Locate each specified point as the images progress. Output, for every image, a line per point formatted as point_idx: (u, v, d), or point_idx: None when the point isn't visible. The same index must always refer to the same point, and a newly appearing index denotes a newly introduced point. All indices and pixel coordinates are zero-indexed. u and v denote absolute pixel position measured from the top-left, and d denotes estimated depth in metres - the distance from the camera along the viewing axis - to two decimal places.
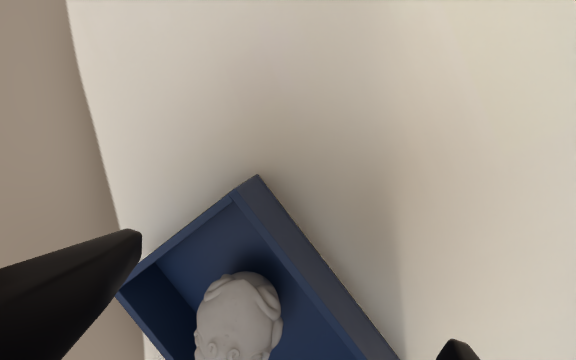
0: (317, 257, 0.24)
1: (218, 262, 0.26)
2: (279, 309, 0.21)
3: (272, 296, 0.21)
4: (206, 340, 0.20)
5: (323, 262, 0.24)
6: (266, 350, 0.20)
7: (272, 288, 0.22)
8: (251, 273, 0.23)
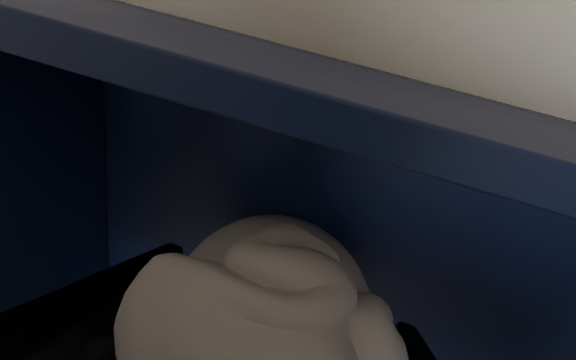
0: (371, 70, 0.07)
1: (189, 246, 0.11)
2: (339, 278, 0.06)
3: (284, 253, 0.06)
4: None
5: (397, 76, 0.08)
6: None
7: (282, 229, 0.06)
8: (226, 226, 0.08)
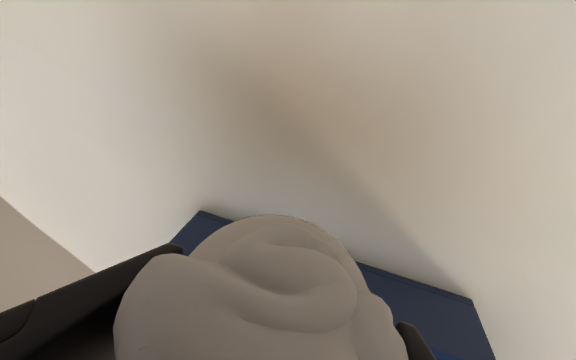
0: None
1: None
2: (339, 279, 0.06)
3: (283, 254, 0.06)
4: None
5: None
6: None
7: (282, 229, 0.06)
8: (226, 226, 0.08)
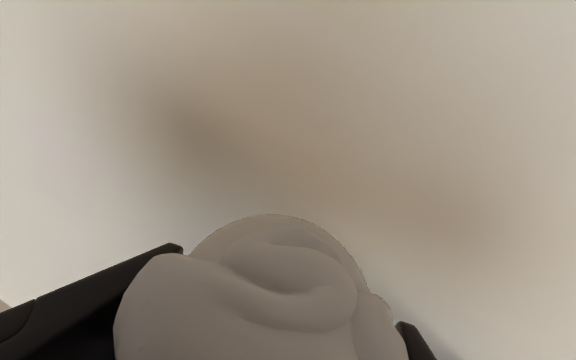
0: None
1: None
2: (339, 278, 0.06)
3: (284, 254, 0.06)
4: None
5: None
6: None
7: (282, 229, 0.06)
8: (226, 226, 0.08)
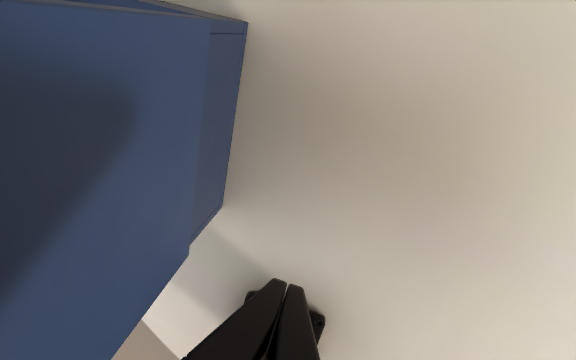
0: None
1: None
2: None
3: None
4: None
5: None
6: None
7: None
8: None
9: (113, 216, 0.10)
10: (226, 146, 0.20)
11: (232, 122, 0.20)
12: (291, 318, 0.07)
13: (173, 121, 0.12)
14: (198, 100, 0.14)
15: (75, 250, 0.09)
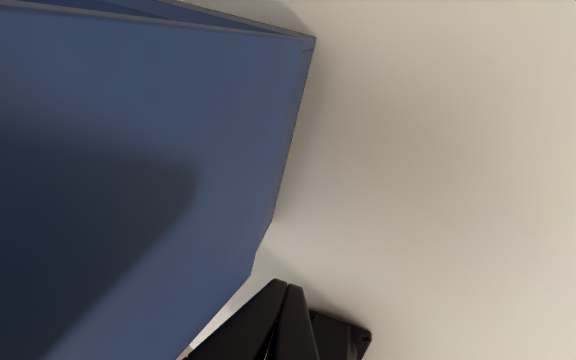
0: None
1: None
2: None
3: None
4: None
5: None
6: None
7: None
8: None
9: (182, 235, 0.10)
10: (284, 161, 0.20)
11: (291, 137, 0.20)
12: (290, 318, 0.07)
13: (253, 142, 0.12)
14: (281, 121, 0.13)
15: (141, 267, 0.08)
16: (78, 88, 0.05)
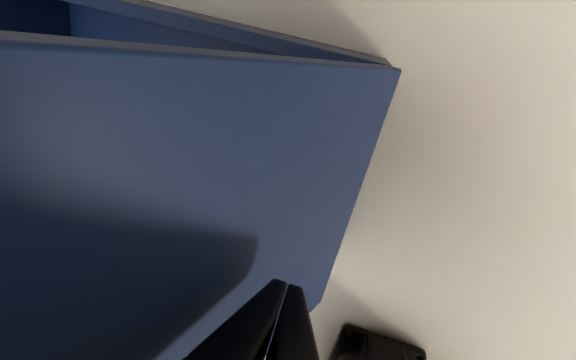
0: (180, 9, 0.18)
1: None
2: None
3: None
4: None
5: (193, 12, 0.18)
6: None
7: None
8: None
9: (268, 257, 0.10)
10: None
11: None
12: (291, 318, 0.07)
13: (341, 170, 0.11)
14: (369, 150, 0.13)
15: (230, 285, 0.09)
16: (208, 120, 0.06)
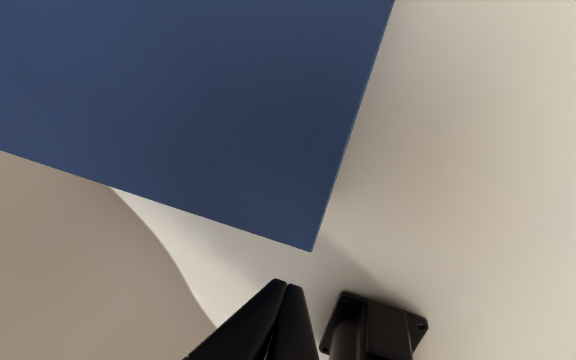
0: None
1: None
2: None
3: None
4: None
5: None
6: None
7: None
8: None
9: (211, 90, 0.14)
10: None
11: None
12: (290, 318, 0.07)
13: (301, 57, 0.12)
14: (358, 60, 0.12)
15: (178, 84, 0.14)
16: None
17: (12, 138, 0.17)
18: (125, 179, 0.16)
